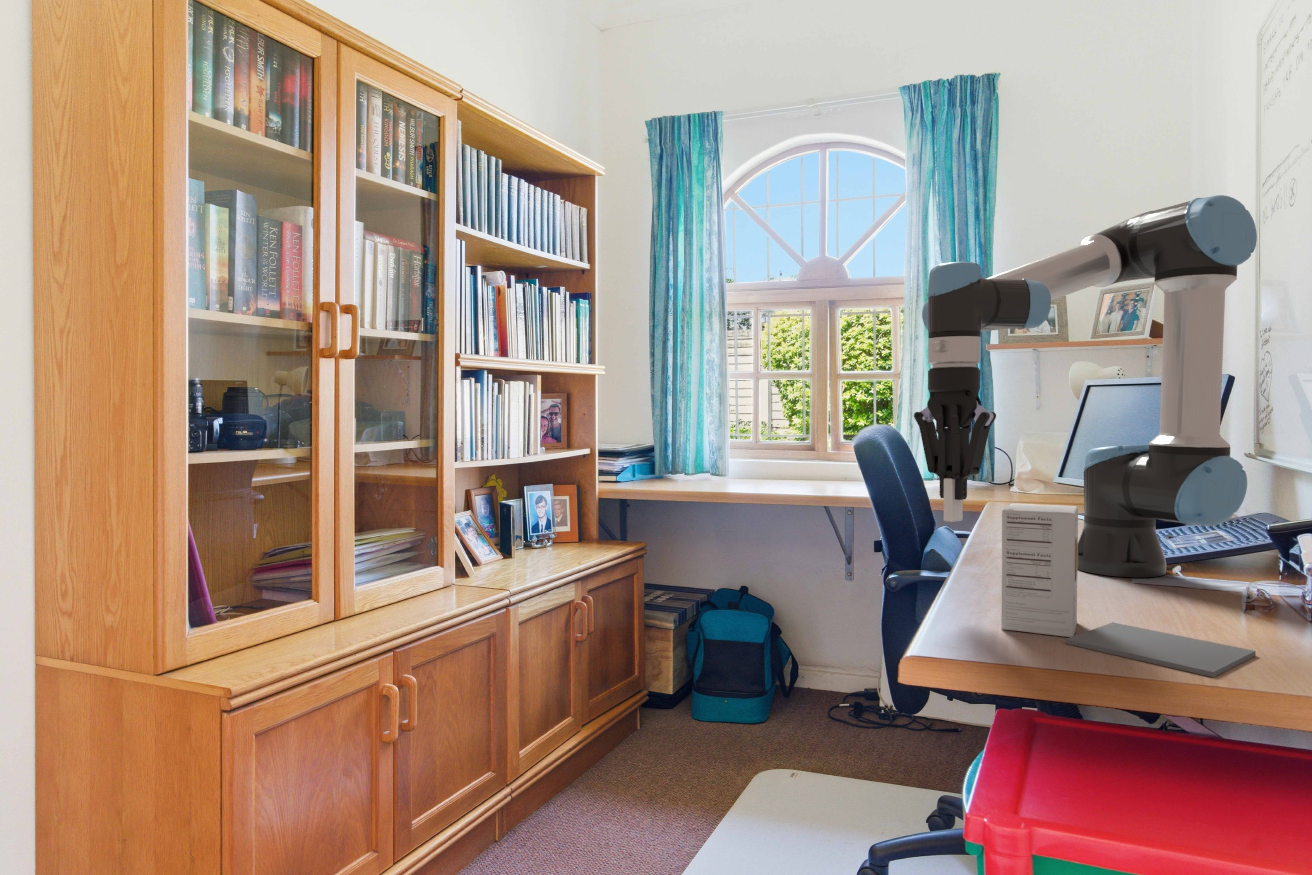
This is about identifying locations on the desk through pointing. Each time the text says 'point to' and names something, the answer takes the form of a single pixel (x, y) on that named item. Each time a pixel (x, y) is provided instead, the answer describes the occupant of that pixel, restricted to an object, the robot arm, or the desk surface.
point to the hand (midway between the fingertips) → (953, 520)
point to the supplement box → (1040, 568)
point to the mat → (1163, 648)
